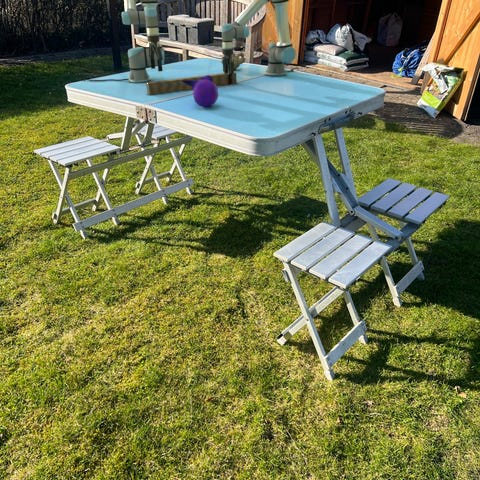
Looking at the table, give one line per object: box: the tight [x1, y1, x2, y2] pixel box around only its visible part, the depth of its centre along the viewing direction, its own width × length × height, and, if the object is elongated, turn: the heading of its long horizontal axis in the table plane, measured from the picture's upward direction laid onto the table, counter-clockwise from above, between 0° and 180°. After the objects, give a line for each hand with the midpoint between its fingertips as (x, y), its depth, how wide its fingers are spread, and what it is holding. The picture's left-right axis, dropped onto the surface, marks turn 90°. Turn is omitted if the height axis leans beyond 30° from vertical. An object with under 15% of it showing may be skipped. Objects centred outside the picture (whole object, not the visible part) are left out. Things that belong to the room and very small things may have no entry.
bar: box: [145, 71, 238, 96], centre depth 311 cm, size 66×5×8 cm, turn 119°
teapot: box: [221, 51, 245, 71], centre depth 369 cm, size 21×12×15 cm, turn 120°
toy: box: [182, 74, 219, 108], centre depth 268 cm, size 16×18×27 cm
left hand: (156, 70), depth 298 cm, fingers open, 13 cm apart
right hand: (228, 83), depth 324 cm, fingers closed on bar, 5 cm apart
